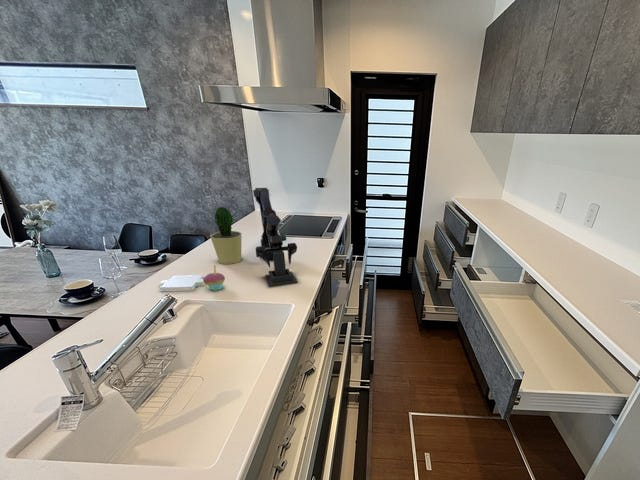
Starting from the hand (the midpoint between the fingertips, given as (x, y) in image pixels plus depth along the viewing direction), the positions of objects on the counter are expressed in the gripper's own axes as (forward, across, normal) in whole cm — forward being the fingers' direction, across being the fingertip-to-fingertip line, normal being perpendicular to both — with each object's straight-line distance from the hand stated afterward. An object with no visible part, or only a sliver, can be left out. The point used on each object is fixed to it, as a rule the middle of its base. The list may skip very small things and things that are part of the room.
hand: (280, 265), depth 141 cm
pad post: (+4, 0, +6) cm, 7 cm away
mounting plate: (-3, -42, +14) cm, 44 cm away
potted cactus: (-22, -21, +33) cm, 45 cm away
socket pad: (+4, 0, +6) cm, 8 cm away
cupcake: (+4, -28, +7) cm, 30 cm away
